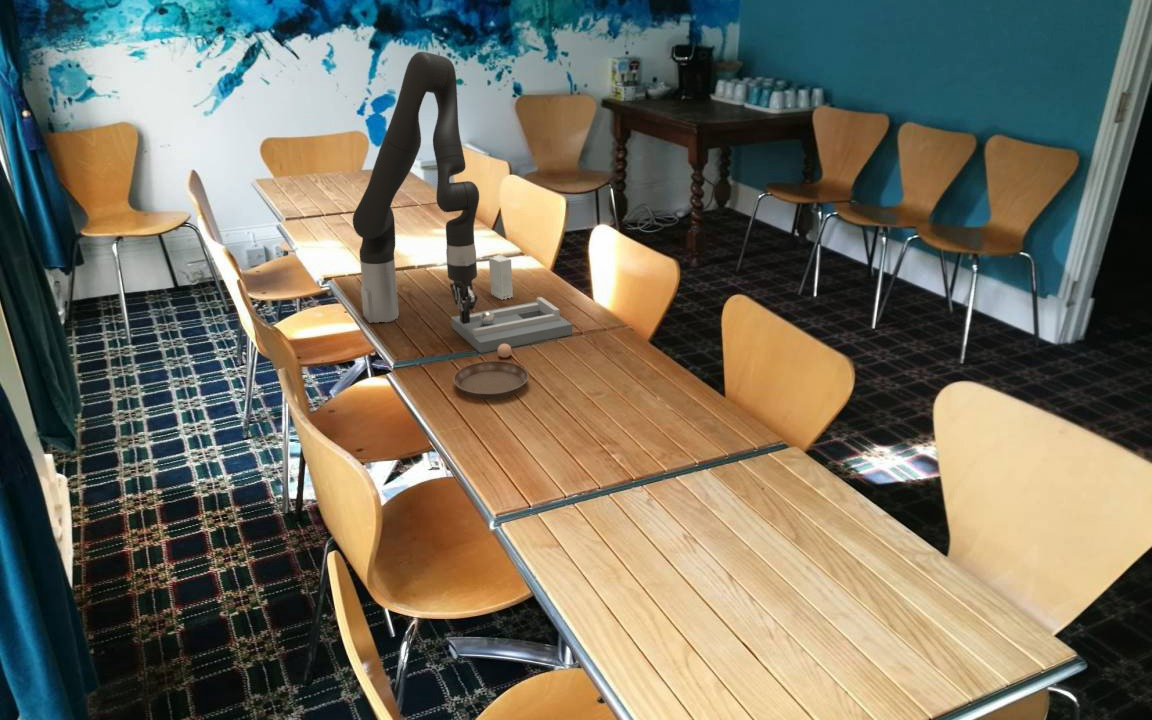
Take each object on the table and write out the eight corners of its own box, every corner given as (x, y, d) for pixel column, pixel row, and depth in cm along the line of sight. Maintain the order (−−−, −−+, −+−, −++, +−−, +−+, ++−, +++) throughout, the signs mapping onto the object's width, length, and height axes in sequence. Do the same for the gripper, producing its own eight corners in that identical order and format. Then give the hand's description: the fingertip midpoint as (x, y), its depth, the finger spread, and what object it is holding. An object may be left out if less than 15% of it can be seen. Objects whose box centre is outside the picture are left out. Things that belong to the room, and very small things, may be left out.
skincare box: (513, 297, 265) (512, 259, 260) (501, 300, 262) (500, 261, 257) (501, 292, 269) (500, 254, 264) (489, 295, 266) (488, 256, 261)
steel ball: (483, 329, 234) (483, 315, 232) (477, 324, 237) (477, 310, 236) (497, 326, 236) (497, 312, 234) (491, 321, 239) (490, 307, 237)
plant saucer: (459, 408, 200) (459, 396, 198) (449, 375, 215) (448, 364, 214) (535, 399, 204) (535, 388, 203) (519, 368, 219) (519, 357, 218)
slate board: (480, 353, 227) (479, 331, 224) (451, 327, 243) (450, 306, 240) (572, 334, 239) (572, 313, 236) (538, 310, 255) (538, 291, 252)
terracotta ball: (501, 361, 223) (500, 347, 221) (495, 355, 226) (494, 342, 224) (514, 358, 224) (513, 345, 223) (508, 353, 227) (507, 340, 226)
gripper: (438, 255, 229) (442, 317, 236) (458, 269, 219) (462, 333, 226) (464, 251, 233) (468, 312, 240) (485, 264, 222) (488, 328, 229)
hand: (465, 322), depth 233 cm, fingers closed
